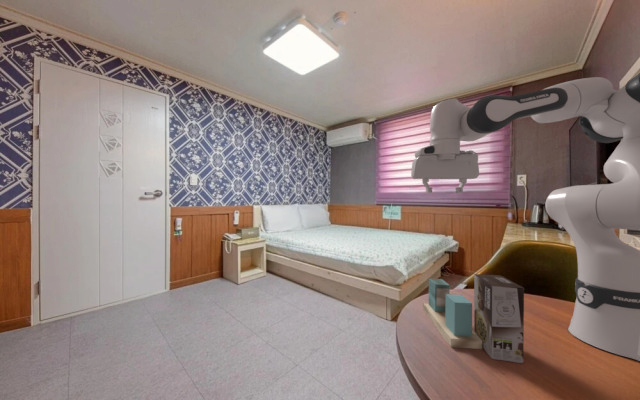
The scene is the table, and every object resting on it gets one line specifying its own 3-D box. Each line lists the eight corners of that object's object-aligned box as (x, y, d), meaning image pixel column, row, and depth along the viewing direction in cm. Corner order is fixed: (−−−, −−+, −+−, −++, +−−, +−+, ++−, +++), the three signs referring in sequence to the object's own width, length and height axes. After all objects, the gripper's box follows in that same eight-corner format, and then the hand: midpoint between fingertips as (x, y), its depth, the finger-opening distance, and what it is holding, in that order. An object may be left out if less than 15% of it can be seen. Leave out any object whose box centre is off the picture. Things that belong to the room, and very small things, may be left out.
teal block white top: (460, 324, 62) (460, 293, 62) (471, 336, 56) (472, 303, 56) (444, 323, 62) (444, 293, 62) (454, 335, 56) (454, 302, 56)
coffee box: (525, 364, 50) (526, 288, 50) (491, 359, 51) (491, 285, 51) (501, 339, 59) (502, 274, 59) (473, 336, 60) (473, 272, 60)
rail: (446, 310, 73) (446, 278, 74) (482, 349, 55) (482, 306, 55) (423, 309, 74) (423, 278, 74) (450, 347, 55) (451, 304, 55)
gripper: (472, 152, 79) (472, 193, 79) (410, 152, 81) (409, 192, 81) (483, 148, 73) (483, 192, 73) (415, 148, 75) (415, 192, 75)
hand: (444, 192), depth 77 cm, fingers open, 8 cm apart
